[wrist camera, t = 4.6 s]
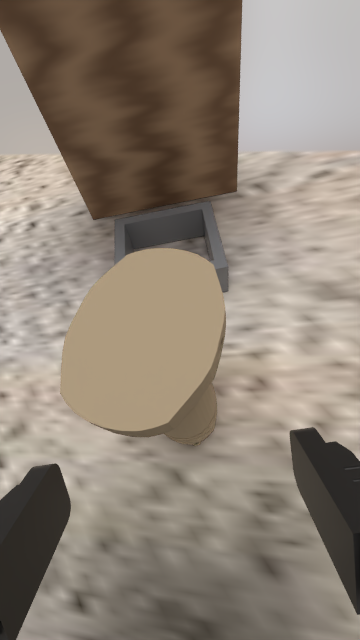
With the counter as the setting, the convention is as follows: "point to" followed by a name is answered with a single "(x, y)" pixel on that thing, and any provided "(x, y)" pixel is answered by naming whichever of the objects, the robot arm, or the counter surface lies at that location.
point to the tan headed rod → (148, 347)
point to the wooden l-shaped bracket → (135, 94)
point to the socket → (173, 233)
